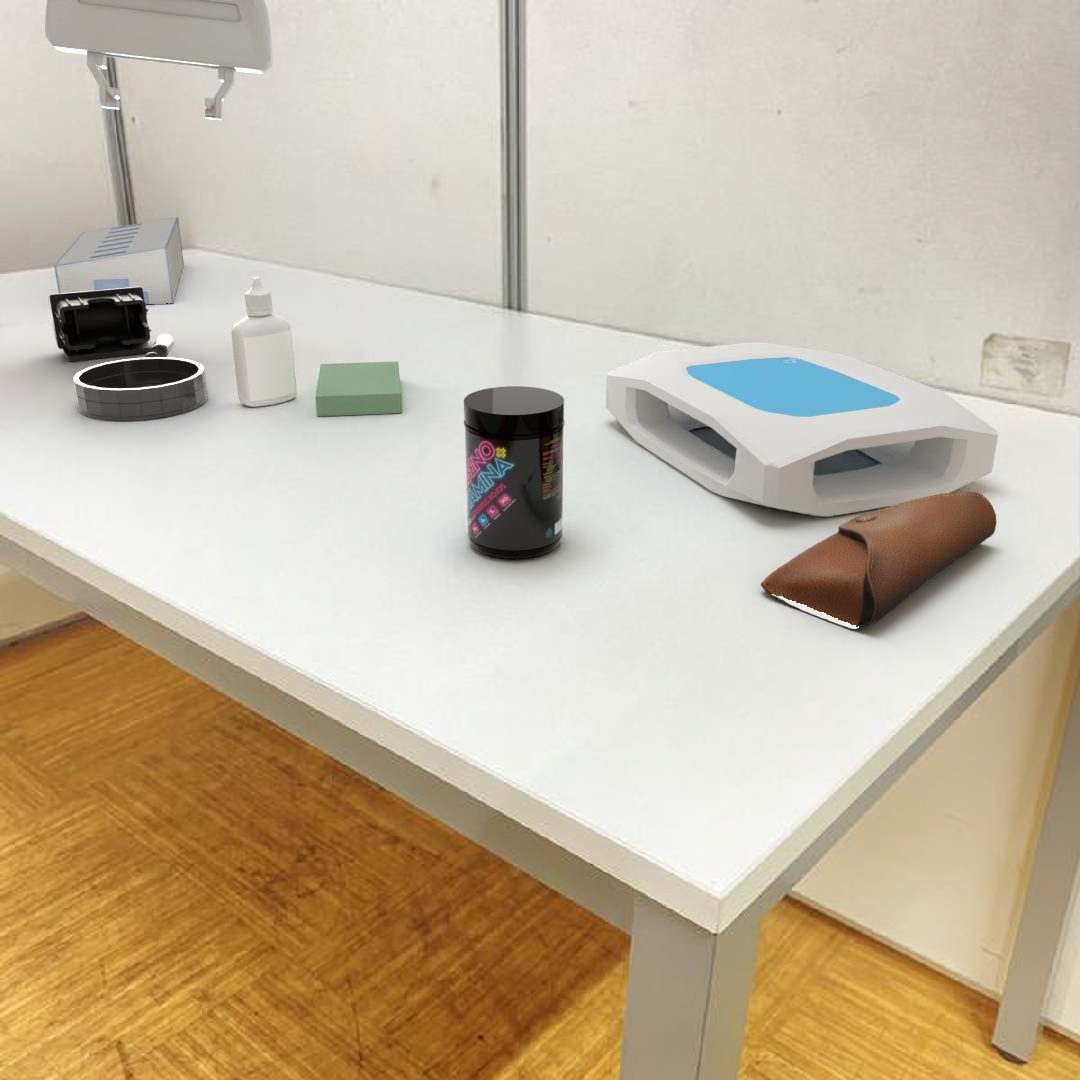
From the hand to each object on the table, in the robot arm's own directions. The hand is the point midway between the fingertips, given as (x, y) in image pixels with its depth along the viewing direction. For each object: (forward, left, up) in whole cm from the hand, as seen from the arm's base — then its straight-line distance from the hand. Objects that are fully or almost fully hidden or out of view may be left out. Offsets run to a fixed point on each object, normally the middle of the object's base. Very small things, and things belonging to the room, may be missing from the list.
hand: (162, 113), depth 108 cm
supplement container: (+28, -47, -26) cm, 60 cm away
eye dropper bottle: (+8, -9, -26) cm, 29 cm away
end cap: (-12, +14, -26) cm, 32 cm away
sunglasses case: (+52, -54, -26) cm, 80 cm away
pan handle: (-4, +3, -25) cm, 25 cm away
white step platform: (+53, -31, -26) cm, 67 cm away
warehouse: (-17, +54, -26) cm, 63 cm away
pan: (-4, -8, -26) cm, 27 cm away
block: (+17, -9, -26) cm, 32 cm away
